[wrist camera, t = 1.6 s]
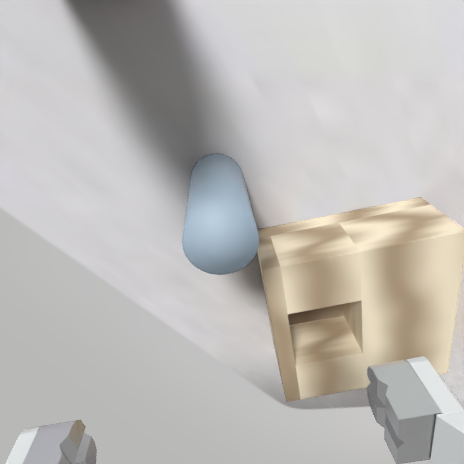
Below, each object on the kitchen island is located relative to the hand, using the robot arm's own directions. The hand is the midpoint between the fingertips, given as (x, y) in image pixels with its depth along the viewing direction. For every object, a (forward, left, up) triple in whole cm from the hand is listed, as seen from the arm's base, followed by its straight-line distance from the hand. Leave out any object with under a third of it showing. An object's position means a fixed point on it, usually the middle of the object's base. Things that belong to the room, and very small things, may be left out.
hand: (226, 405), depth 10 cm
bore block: (-9, +12, -20) cm, 25 cm away
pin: (0, 0, -20) cm, 20 cm away
